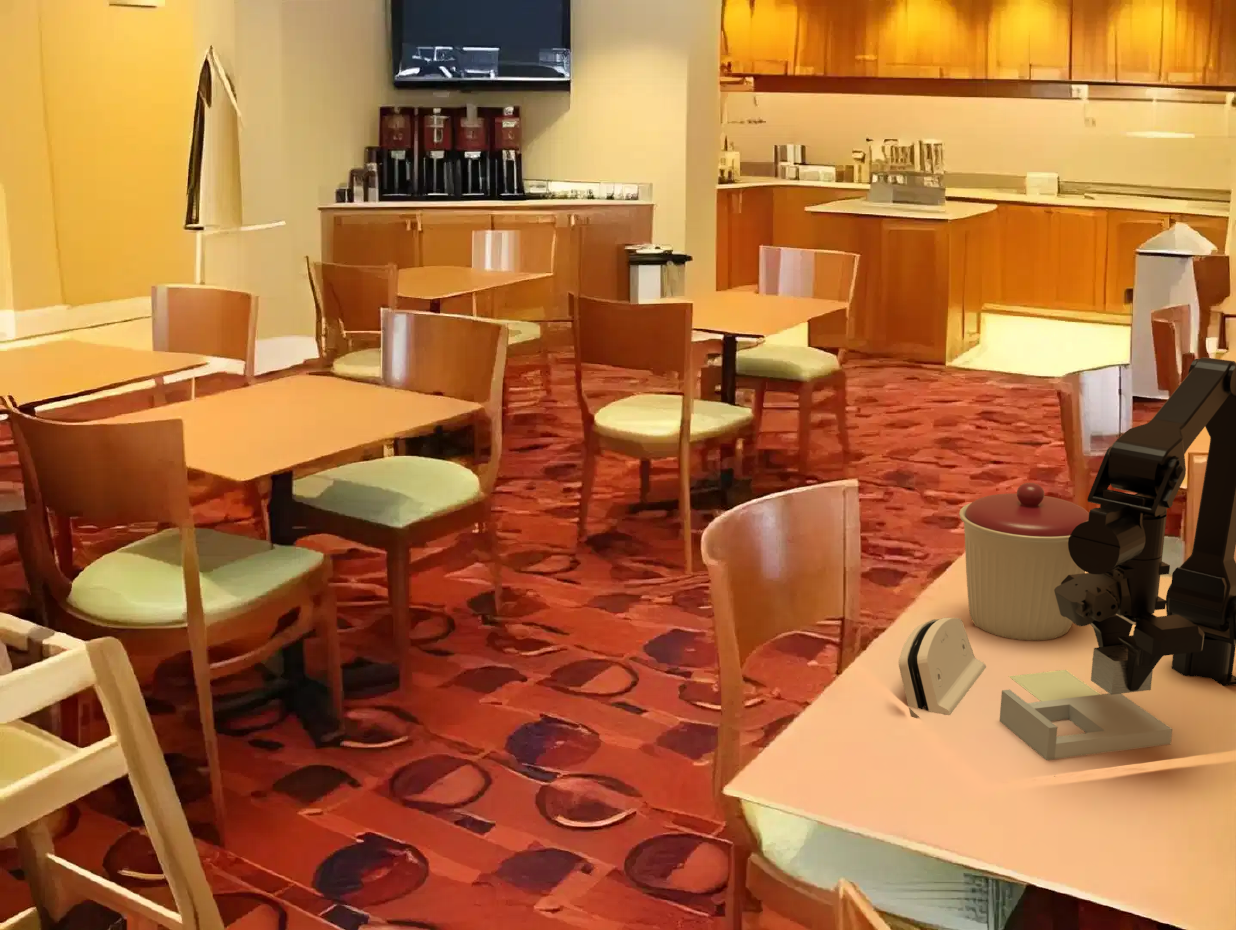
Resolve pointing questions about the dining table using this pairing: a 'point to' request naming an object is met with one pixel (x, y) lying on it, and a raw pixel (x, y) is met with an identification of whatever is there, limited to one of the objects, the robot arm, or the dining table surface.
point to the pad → (1054, 685)
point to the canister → (1019, 561)
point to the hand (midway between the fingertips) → (1121, 682)
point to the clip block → (1113, 670)
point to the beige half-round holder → (938, 666)
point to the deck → (1082, 724)
